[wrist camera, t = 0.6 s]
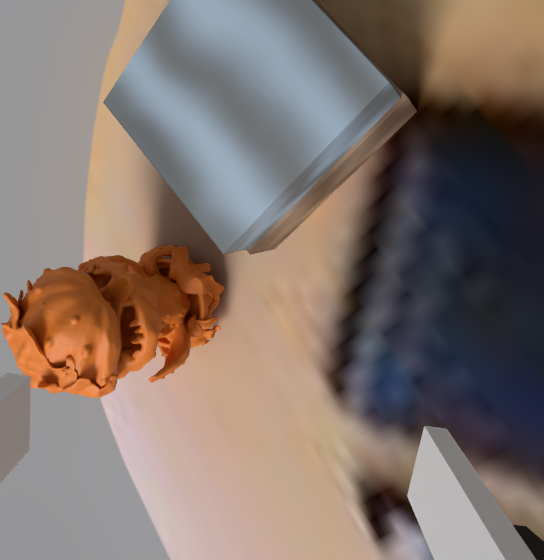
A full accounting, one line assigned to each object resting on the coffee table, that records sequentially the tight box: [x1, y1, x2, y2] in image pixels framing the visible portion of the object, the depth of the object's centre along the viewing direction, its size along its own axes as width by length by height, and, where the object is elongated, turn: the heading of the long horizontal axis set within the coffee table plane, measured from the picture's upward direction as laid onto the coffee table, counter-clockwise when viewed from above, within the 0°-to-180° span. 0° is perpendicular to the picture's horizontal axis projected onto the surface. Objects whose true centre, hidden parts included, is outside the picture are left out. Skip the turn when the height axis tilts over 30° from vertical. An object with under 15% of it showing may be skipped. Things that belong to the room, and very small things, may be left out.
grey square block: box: [103, 0, 417, 254], centre depth 32 cm, size 15×15×8 cm
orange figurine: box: [2, 244, 224, 398], centre depth 34 cm, size 11×11×18 cm
